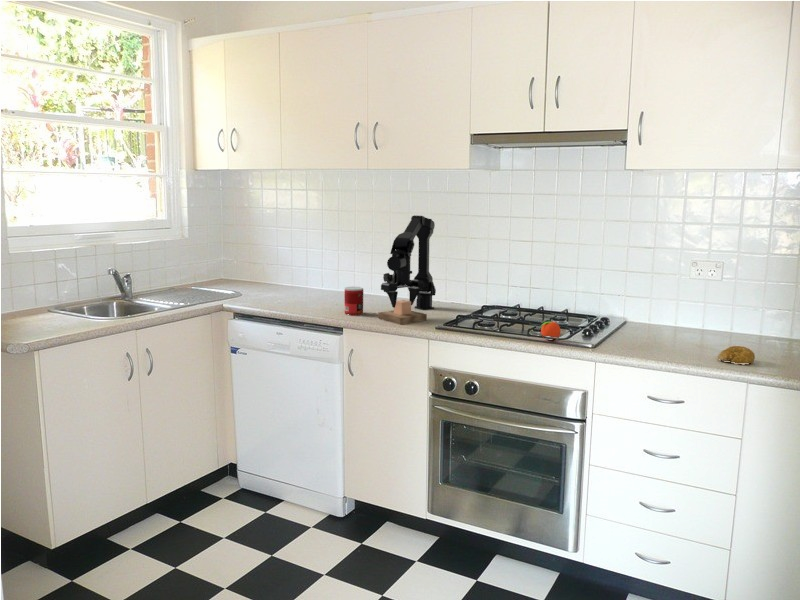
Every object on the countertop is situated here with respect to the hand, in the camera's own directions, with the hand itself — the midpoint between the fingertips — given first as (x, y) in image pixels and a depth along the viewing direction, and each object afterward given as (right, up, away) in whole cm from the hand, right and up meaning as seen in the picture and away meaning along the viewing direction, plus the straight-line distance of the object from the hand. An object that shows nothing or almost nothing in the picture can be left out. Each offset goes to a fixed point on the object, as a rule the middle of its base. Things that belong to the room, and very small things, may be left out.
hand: (402, 306), depth 272 cm
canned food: (-20, -3, +11) cm, 24 cm away
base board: (0, -5, +1) cm, 5 cm away
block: (0, -3, +1) cm, 3 cm away
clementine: (+53, -12, -31) cm, 62 cm away
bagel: (+107, -18, -55) cm, 122 cm away
